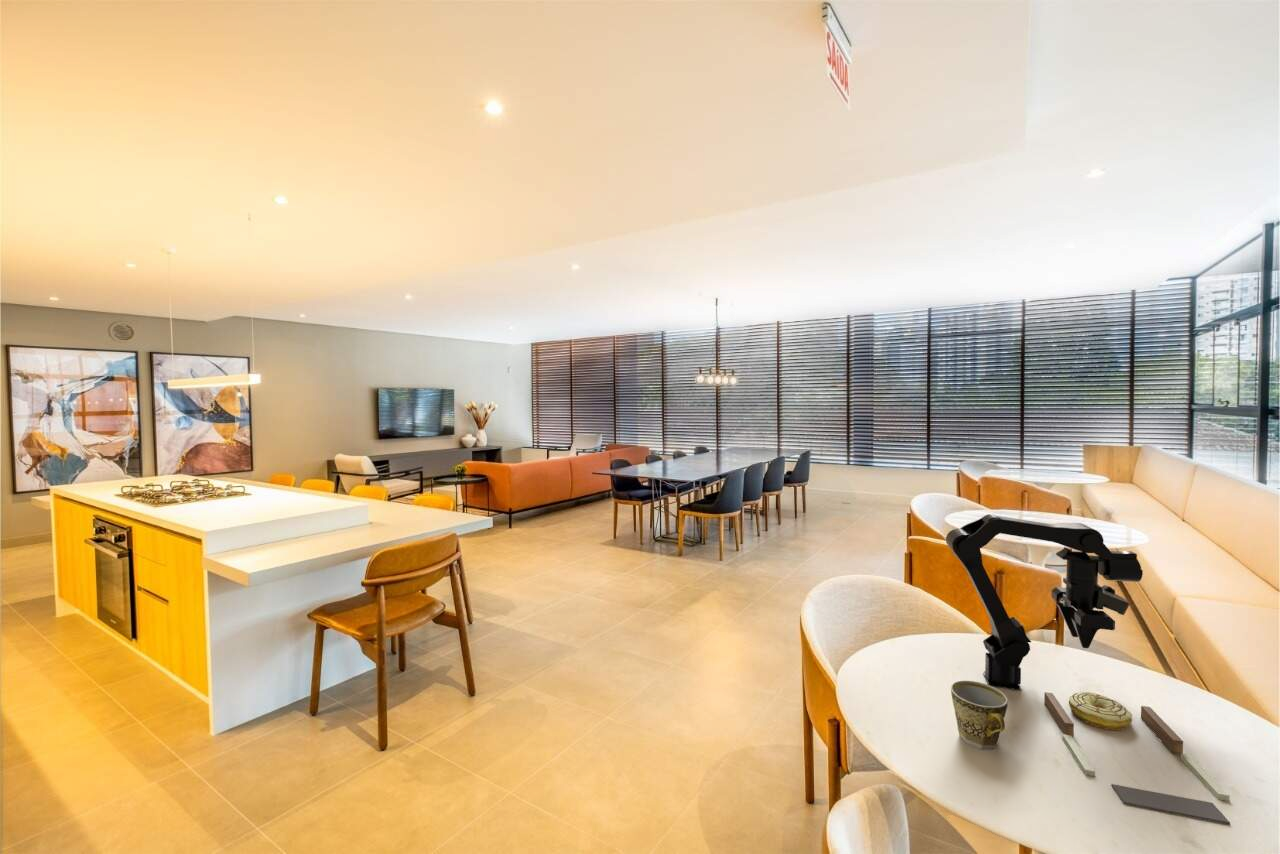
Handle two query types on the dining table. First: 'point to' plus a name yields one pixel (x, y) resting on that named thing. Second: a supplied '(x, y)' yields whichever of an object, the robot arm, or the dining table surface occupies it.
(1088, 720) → the decorated donut
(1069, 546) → the robot arm
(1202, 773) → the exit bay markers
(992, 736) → the ceramic cup
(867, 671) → the dining table surface
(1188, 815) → the dark grey rectangular plate
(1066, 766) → the dining table surface
